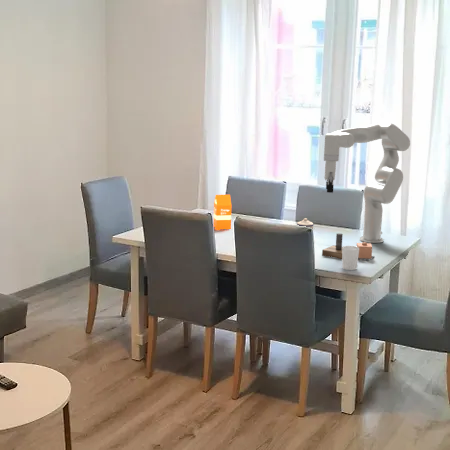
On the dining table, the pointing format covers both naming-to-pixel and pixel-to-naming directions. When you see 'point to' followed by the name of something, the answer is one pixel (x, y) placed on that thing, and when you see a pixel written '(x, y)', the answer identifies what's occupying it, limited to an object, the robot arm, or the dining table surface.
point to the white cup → (350, 257)
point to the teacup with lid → (305, 223)
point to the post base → (334, 248)
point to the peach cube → (365, 250)
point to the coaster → (366, 258)
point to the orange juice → (222, 212)
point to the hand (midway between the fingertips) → (329, 190)
